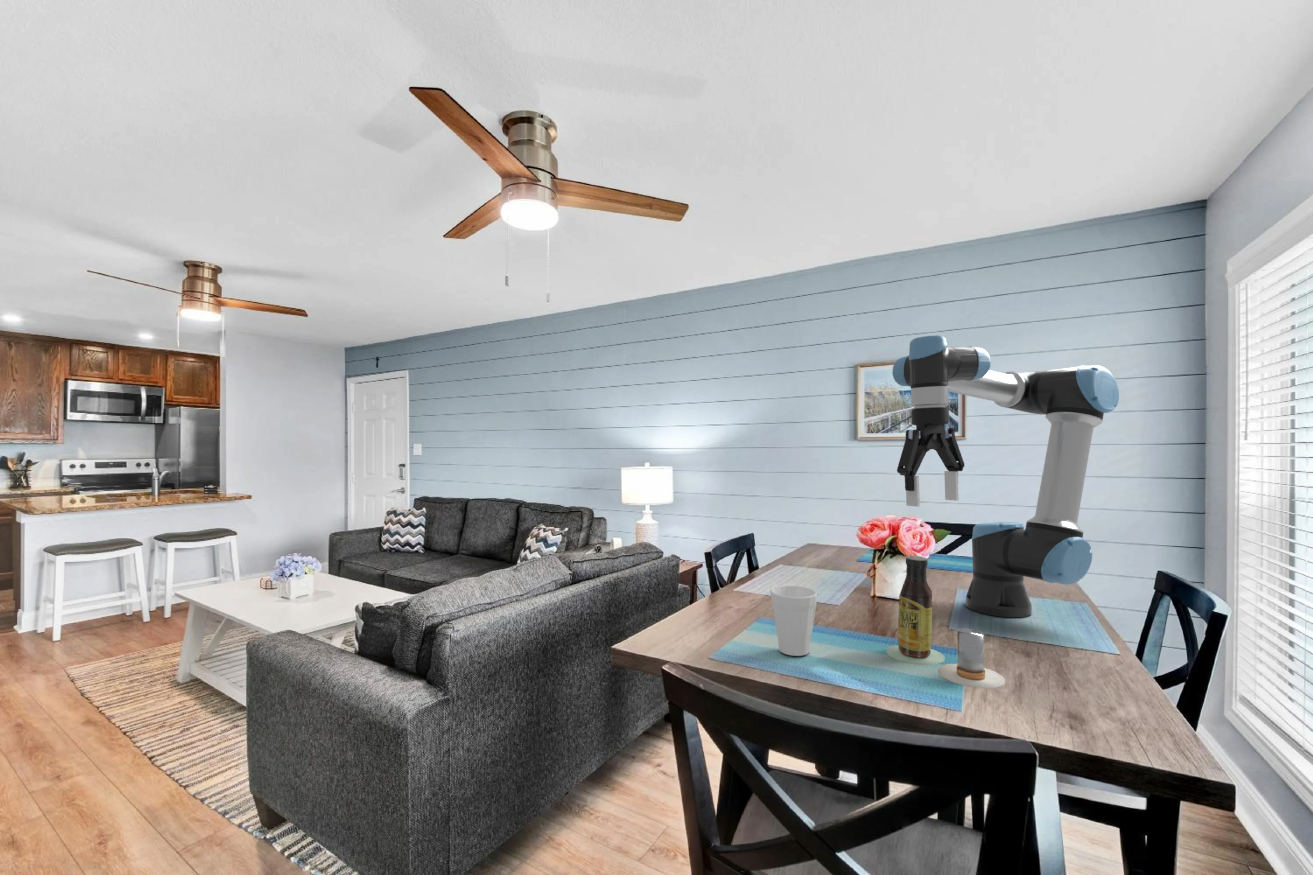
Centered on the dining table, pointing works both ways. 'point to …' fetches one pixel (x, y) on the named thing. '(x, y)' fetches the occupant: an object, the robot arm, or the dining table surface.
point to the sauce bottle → (915, 610)
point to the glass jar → (970, 654)
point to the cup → (794, 617)
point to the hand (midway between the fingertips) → (933, 503)
